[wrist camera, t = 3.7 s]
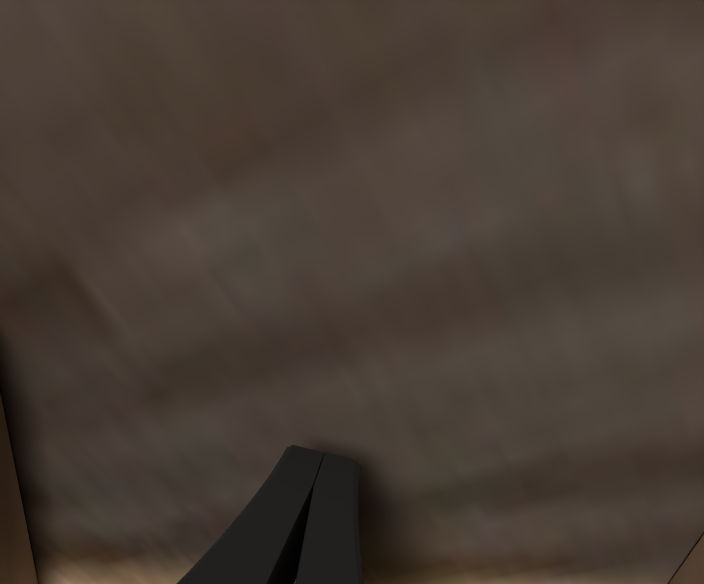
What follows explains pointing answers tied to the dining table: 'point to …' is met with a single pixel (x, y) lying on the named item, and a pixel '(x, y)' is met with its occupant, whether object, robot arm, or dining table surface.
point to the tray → (15, 550)
